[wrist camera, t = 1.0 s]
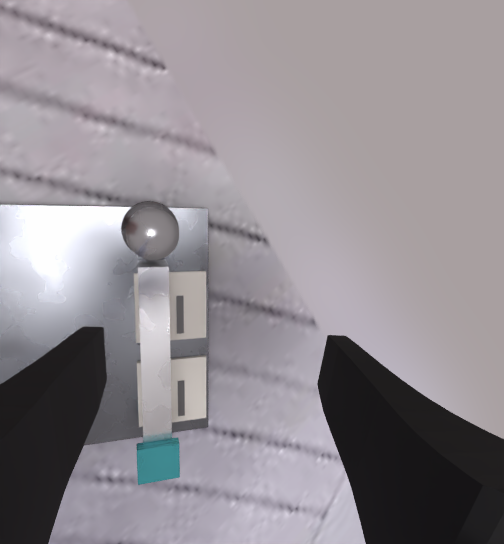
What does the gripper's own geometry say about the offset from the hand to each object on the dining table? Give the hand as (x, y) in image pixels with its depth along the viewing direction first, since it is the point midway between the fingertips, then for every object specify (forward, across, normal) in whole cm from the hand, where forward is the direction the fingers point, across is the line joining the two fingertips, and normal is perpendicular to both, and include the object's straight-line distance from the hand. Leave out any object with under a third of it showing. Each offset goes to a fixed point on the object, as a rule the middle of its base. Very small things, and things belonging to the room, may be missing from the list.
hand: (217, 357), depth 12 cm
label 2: (+14, +3, +13) cm, 19 cm away
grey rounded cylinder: (+16, +5, +1) cm, 17 cm away
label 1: (+15, +3, +6) cm, 17 cm away
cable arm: (+12, +4, +9) cm, 16 cm away
